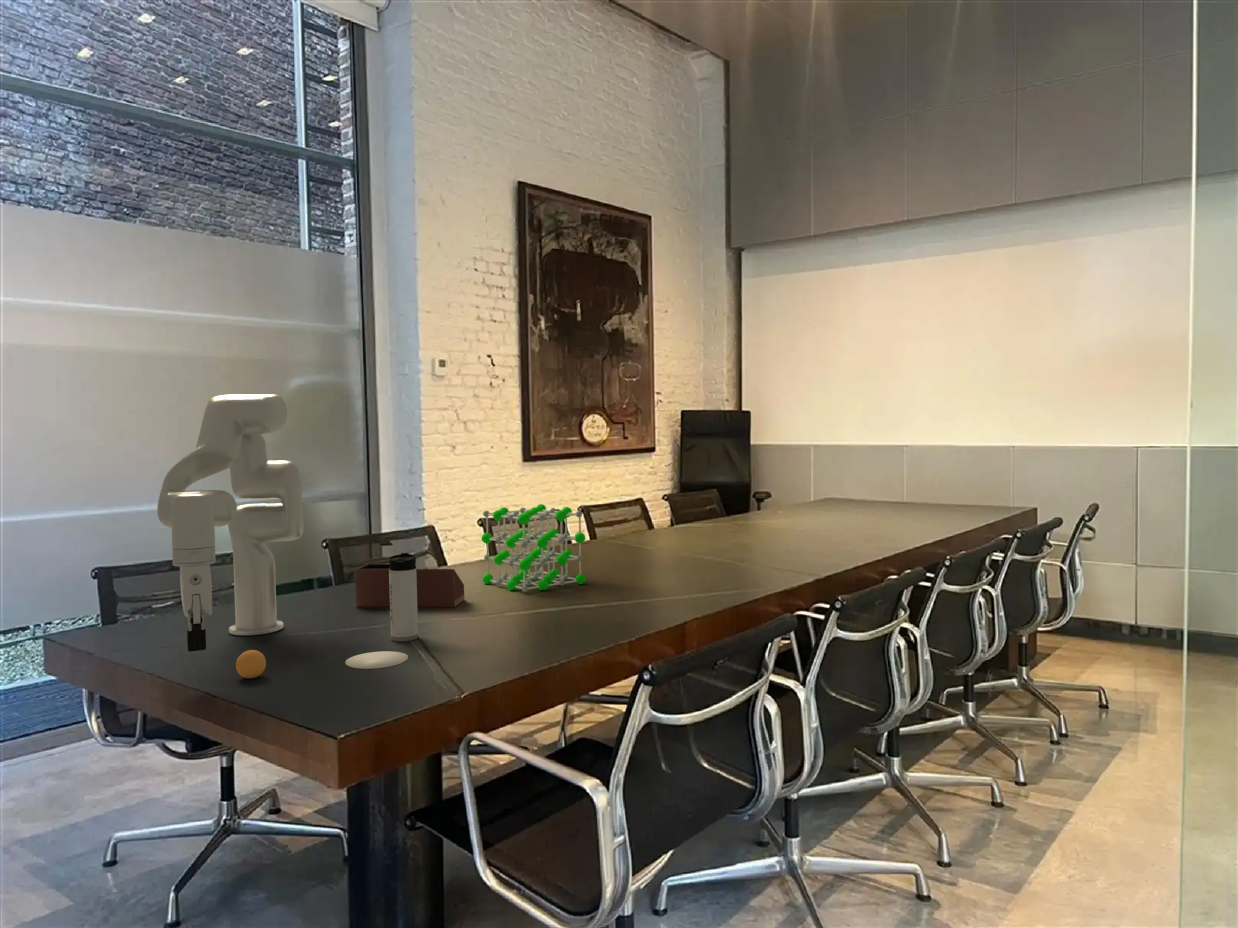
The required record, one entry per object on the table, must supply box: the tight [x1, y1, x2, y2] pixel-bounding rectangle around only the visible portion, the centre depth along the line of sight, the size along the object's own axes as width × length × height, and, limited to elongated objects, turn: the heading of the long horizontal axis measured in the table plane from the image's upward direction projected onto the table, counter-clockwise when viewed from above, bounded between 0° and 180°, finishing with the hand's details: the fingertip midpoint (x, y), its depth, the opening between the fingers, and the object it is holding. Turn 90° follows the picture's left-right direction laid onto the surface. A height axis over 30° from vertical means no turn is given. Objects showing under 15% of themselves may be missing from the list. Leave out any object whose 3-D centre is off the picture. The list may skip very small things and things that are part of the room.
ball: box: [235, 649, 267, 679], centre depth 173 cm, size 6×6×6 cm
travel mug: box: [388, 552, 419, 643], centre depth 204 cm, size 6×7×20 cm
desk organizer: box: [354, 563, 467, 610], centre depth 243 cm, size 10×29×11 cm, turn 84°
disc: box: [344, 650, 409, 670], centre depth 185 cm, size 13×13×1 cm
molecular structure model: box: [480, 503, 587, 593], centre depth 271 cm, size 24×25×24 cm
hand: (196, 649), depth 168 cm, fingers closed
